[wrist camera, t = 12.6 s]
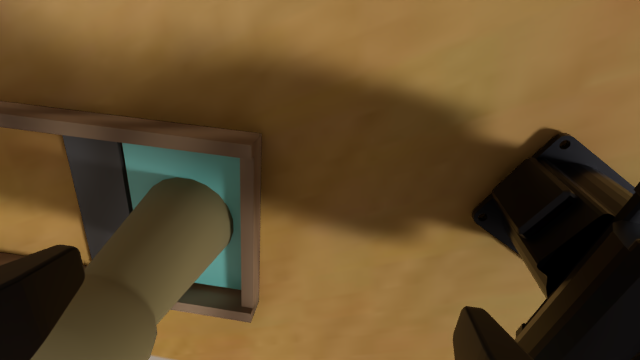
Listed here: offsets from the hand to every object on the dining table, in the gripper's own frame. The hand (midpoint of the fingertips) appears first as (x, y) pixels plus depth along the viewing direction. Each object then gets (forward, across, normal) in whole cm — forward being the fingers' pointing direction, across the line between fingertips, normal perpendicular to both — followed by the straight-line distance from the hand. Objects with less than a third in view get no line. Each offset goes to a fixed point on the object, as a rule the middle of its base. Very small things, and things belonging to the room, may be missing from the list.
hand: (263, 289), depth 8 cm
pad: (+13, +8, +7) cm, 17 cm away
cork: (+13, +8, +7) cm, 17 cm away
